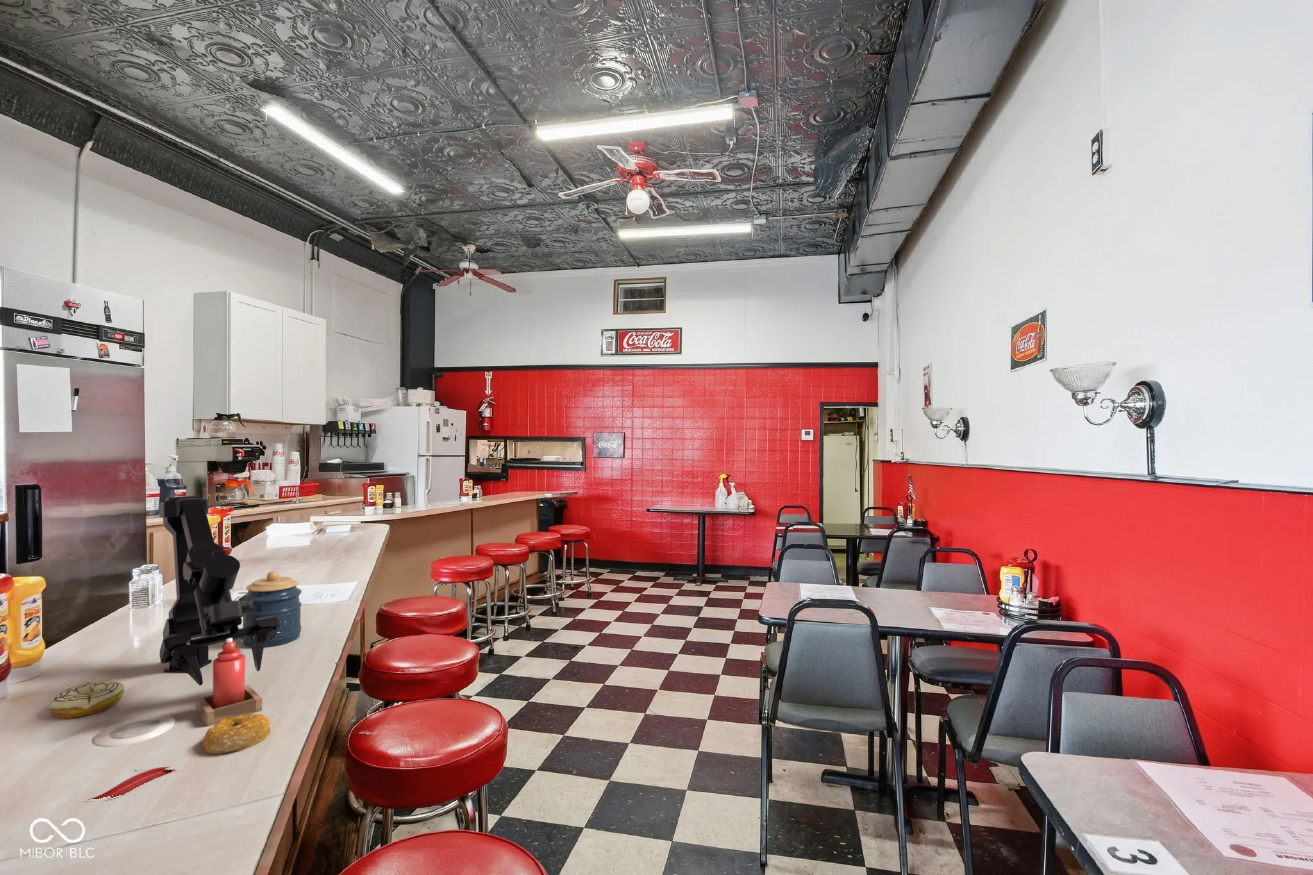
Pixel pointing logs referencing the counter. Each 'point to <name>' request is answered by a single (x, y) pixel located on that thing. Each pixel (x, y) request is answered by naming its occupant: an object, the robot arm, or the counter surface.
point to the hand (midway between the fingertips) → (230, 676)
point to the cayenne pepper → (135, 782)
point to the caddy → (228, 707)
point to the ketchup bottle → (228, 676)
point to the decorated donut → (86, 699)
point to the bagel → (236, 733)
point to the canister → (275, 607)
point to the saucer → (134, 730)
